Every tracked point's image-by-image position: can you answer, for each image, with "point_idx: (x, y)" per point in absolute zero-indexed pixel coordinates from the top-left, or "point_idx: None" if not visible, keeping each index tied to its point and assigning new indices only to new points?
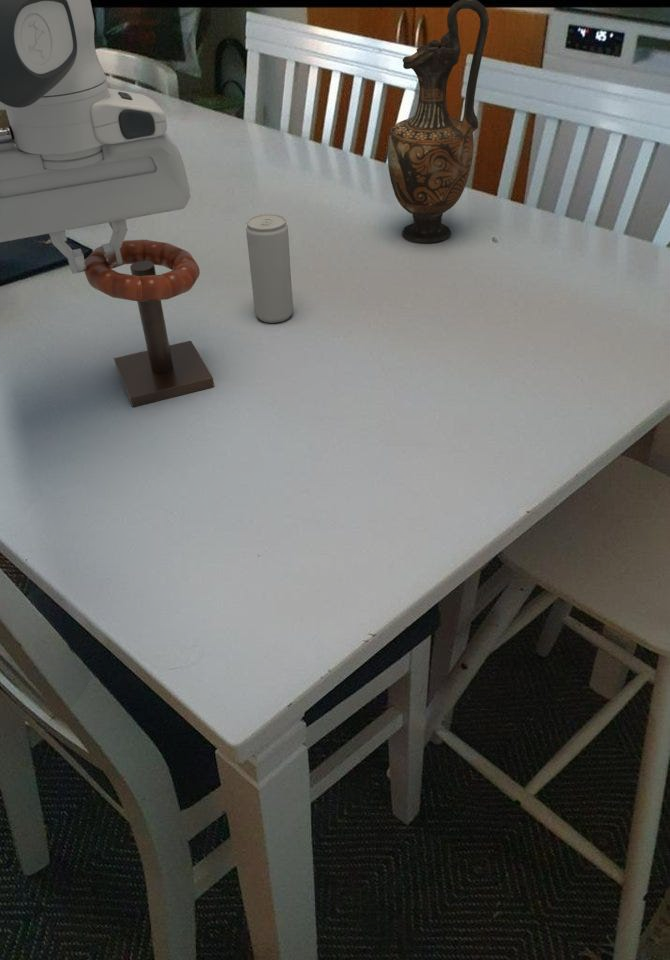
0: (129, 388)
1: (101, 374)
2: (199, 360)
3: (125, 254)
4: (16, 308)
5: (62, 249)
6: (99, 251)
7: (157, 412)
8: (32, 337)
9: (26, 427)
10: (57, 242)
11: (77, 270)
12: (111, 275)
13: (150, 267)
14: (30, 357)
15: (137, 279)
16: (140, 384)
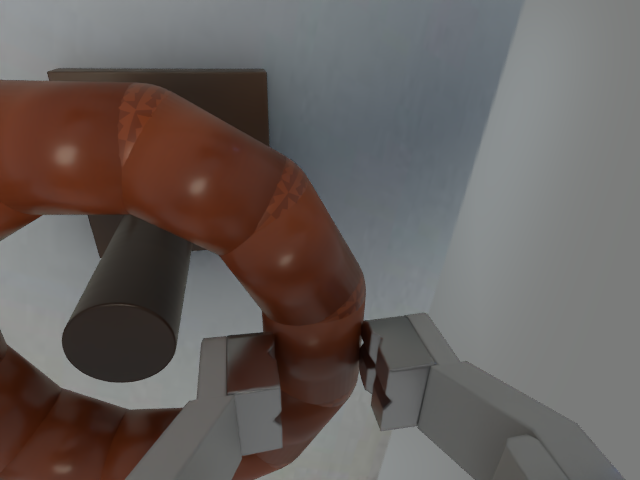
0: (262, 114)
1: None
2: None
3: None
4: (381, 433)
5: (506, 396)
6: (286, 435)
7: (212, 19)
8: None
9: (465, 94)
10: (551, 431)
11: (406, 318)
12: (275, 222)
13: (79, 321)
14: (397, 310)
15: (135, 150)
16: (235, 121)
